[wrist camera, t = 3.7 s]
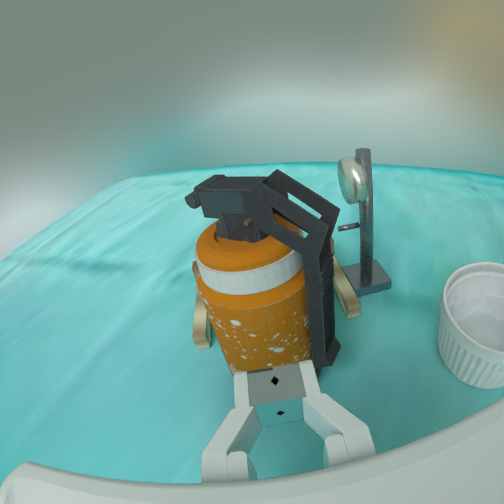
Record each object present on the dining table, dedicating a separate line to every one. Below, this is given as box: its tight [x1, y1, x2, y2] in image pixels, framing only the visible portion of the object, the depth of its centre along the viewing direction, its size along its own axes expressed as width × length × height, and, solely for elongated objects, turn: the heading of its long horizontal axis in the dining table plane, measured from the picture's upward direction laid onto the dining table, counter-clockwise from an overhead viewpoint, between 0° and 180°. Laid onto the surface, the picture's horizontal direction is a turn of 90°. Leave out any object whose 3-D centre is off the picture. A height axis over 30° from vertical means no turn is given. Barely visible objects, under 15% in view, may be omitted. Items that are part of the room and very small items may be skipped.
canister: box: [185, 169, 341, 378], centre depth 24 cm, size 9×11×20 cm
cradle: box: [192, 237, 360, 349], centre depth 38 cm, size 13×20×4 cm, turn 95°
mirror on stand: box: [338, 148, 391, 297], centre depth 34 cm, size 6×5×17 cm
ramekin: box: [438, 262, 504, 389], centre depth 23 cm, size 13×13×7 cm
